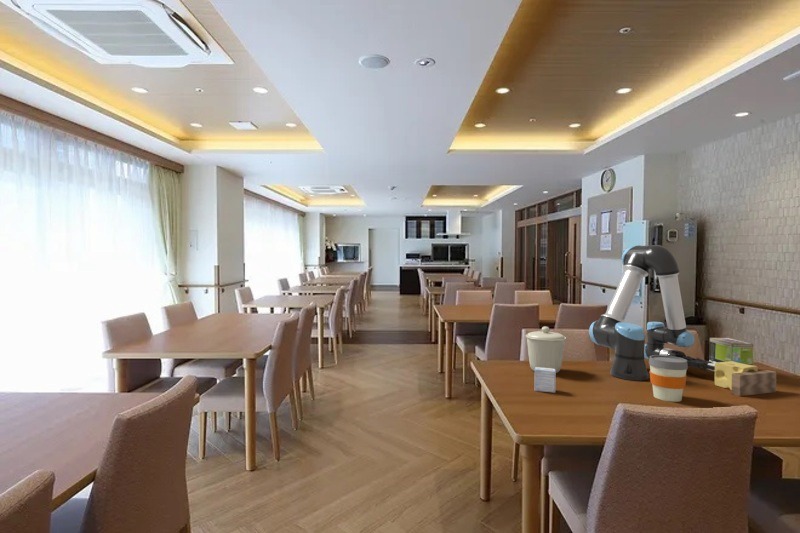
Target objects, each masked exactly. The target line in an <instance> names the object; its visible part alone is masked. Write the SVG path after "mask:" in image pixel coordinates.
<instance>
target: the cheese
mask: <svg viewBox="0 0 800 533" xmlns="http://www.w3.org/2000/svg"><path fill="white" fill-rule="evenodd" d="M754 371H759V368H758V366H757V365H754V364H753V365H747V364H742V363H737V362H733V361H728V362H716V363H715V371H714V385H715V386H716V387H720V388H723V389H724V388H725V389H729V390H731V391H732V374H733V373H743V372H754Z"/></svg>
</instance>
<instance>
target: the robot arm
mask: <svg viewBox="0 0 800 533" xmlns="http://www.w3.org/2000/svg"><path fill="white" fill-rule="evenodd" d="M621 260H622V261H621V264H622V269H623V271H624V272H623V274H622V276H621V277H620V280H619V283H618V285H617V286H616V290H615V292H614V294H613V295H612V298H611V300H610V303H609V305H608V307H607V309H606V311H605V313H604V314H601V315H600V317H599V318H598V320H595V321H593V322H592V323H591V324H590V326H589V328H588V329H589V330H588V333H589V334H588V335H589V336H590V340H591V341H592V342H593V343H594V344H596V345H597V346H600V347H604V348H605V347H606V348H609V349H612V350H614V359H613V362H612V365H611V367H610V372H609V373H610V375H611V376H613V377H615V378H618V379H623V380H627V381H628V380H629V381H646V380H647V381H648V380H649V379H650V373H649V371H648V369H647V365H646V362H645V359H648V360H649V358H650V356H652V355H666V356H674V357H679V358H683V359H686V360H687V365H688V368H689V367H690V368H695V369H699V370H702V369H703V371H705V372H707V370H708V371H711V372H715V364H713V363H712V362H711V361H709V360H705V359H701V358H699V357H692V356H688V355H686V354H685V352H683V351H681V350H678V349H673V348H668V347H665V344H667V345H672V346H677V347H680V348H690V347H692V346H693V345H694V343H695V339H696V338H695V335H694V334H693V332H690V331H689V330H687V324H686V319H685V312H684V307H683V301H682V296H681V295H682V294H681V289H680V283H679V276H678V275H679V274H680V267H679V264H678V261H677V259H676V257H675V255H674V254H673V253H672V252H671V250H669V249H668V248H667V247H665V246H663V245H659V244H658V245H657V244H652V245H651V244H649V245H639V244H638V245H633V246H630V247H627V248H626V249H625V250H624V252H623V253H622V255H621ZM651 270H653V271H654V275H655V277H657V278H658V281H659V282H658V283H659V288H660V293H661V299H662V304H663V311H664V316H665V320H666V327H665V323H664V322H660V321H648V322H647V324H646V334H645V329H644V327H642V326H641V325H638V324H635V323H632V322H631V323H630V322H625V319H626V317H627V314H628V312H629V310H630V308H631V306H632V304H633V302H634V299H635V296H636V294H637V293H638V291H639V290H638V289H639V287H640V285H641V283H642V281H643V278H645V277H649V275H650V272H651ZM645 335H646V336H645Z"/></svg>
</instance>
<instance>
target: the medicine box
mask: <svg viewBox="0 0 800 533" xmlns="http://www.w3.org/2000/svg"><path fill="white" fill-rule="evenodd" d="M556 374H557V373H556V371H555V369H552V368H540V367H535V371H534V391H535V392H545V393H556V376H557V375H556Z"/></svg>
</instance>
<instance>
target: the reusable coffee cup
mask: <svg viewBox="0 0 800 533" xmlns="http://www.w3.org/2000/svg"><path fill="white" fill-rule="evenodd" d="M648 365H649V369H650V370H649V371H648V373H649V379H650V380H649V381H650V383H651V384H652V394H653V397H654V398H655V399H658V400H661V401H664V402H665V401H666V402H673V403H675V402H677V403H678V402H681V401H682V400H683V392H684V389H685V388H686V383H687V376H688V375H687V370H688V368H689V366H688V365H687V360H686V359H683V358H679V357H674V356H666V355H652V356H650V358H649V359H648Z"/></svg>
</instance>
